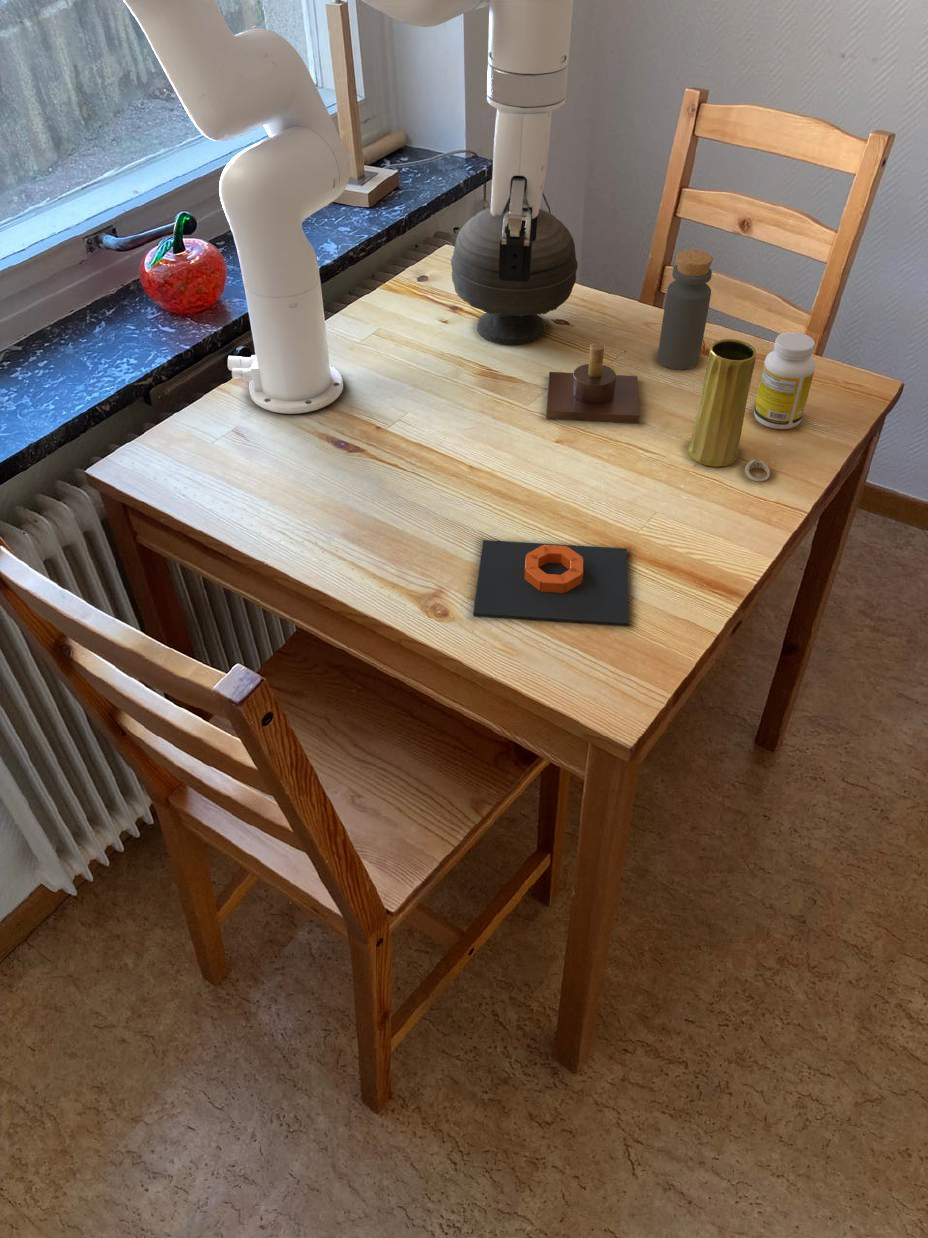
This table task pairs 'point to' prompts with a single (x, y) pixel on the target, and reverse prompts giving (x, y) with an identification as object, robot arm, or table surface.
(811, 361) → the pill bottle
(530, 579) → the orange ring
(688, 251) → the bottle
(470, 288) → the pot
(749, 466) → the ring
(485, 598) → the mat
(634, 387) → the stand
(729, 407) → the vase
